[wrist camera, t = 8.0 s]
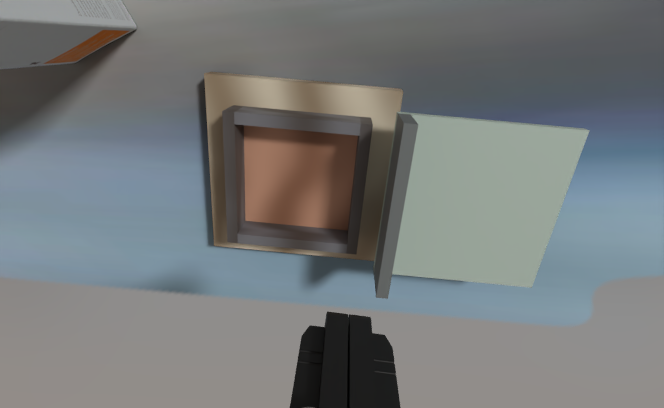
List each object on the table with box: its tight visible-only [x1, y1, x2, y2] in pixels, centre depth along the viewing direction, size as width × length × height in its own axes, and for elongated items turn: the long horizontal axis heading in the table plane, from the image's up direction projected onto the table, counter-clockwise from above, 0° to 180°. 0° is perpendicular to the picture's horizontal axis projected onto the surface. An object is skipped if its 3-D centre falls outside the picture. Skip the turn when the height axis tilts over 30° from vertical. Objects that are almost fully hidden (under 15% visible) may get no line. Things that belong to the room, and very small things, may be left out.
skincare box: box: [0, 0, 137, 69], centre depth 21 cm, size 6×4×12 cm
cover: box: [373, 112, 589, 299], centre depth 24 cm, size 12×12×4 cm
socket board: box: [204, 72, 403, 261], centre depth 28 cm, size 14×14×4 cm
